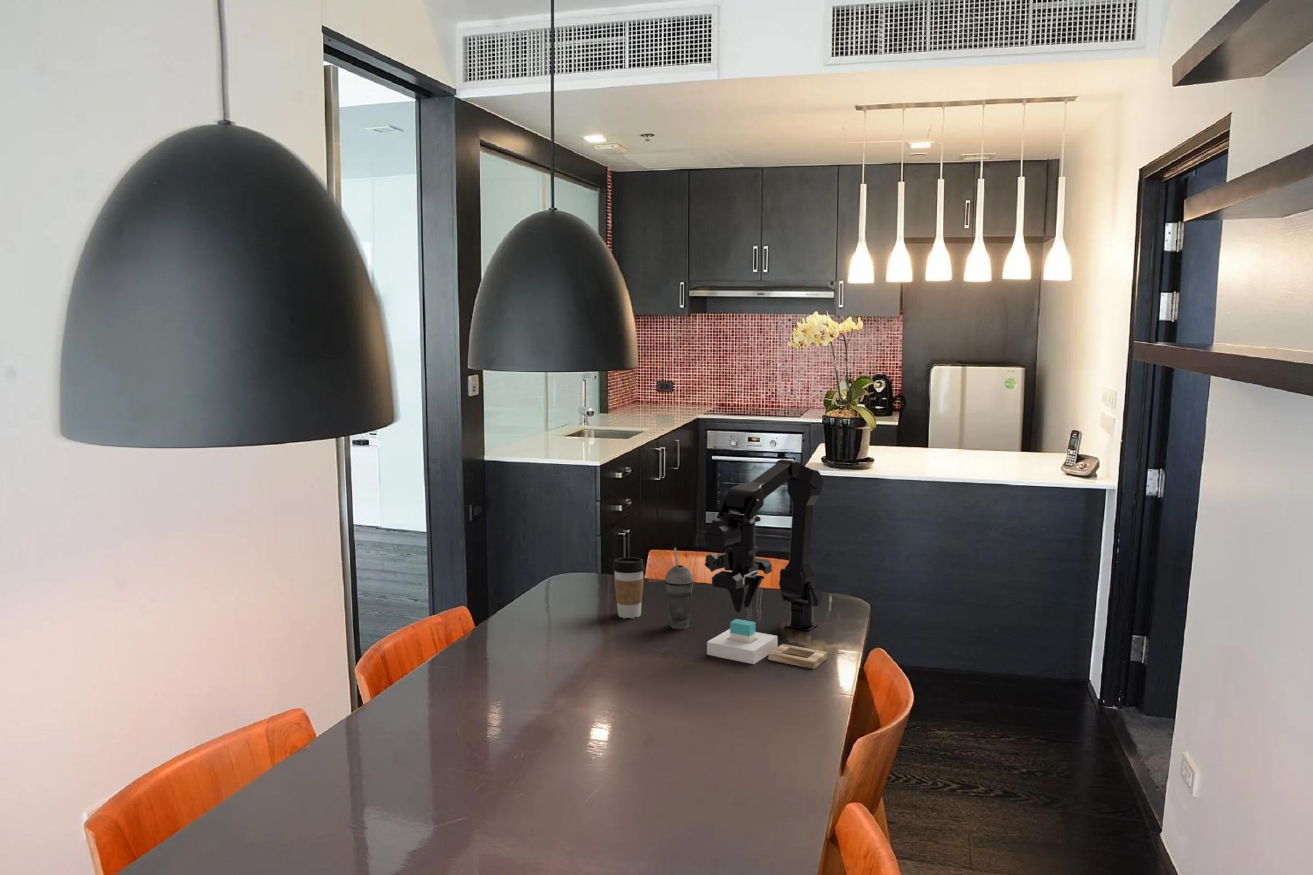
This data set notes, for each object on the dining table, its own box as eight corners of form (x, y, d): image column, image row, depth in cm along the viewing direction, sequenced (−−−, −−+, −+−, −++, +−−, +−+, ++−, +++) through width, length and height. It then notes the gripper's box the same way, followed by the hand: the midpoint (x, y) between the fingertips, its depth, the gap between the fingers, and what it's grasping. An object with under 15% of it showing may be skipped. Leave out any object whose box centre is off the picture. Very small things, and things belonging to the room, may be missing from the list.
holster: (782, 649, 217) (782, 643, 217) (827, 658, 212) (827, 652, 211) (768, 659, 211) (768, 653, 211) (813, 668, 205) (813, 662, 205)
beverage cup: (682, 632, 230) (682, 553, 228) (659, 627, 235) (658, 549, 232) (699, 625, 236) (699, 547, 234) (676, 619, 240) (675, 543, 238)
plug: (736, 647, 219) (736, 618, 219) (755, 651, 217) (755, 622, 216) (730, 651, 217) (730, 622, 216) (749, 655, 214) (749, 625, 213)
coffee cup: (608, 618, 242) (607, 561, 240) (619, 609, 250) (618, 554, 248) (639, 621, 240) (639, 564, 238) (649, 611, 248) (648, 556, 246)
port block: (732, 639, 225) (732, 627, 225) (777, 648, 219) (777, 635, 218) (707, 654, 215) (707, 641, 215) (753, 664, 209) (753, 651, 208)
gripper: (731, 531, 226) (731, 594, 228) (691, 547, 210) (691, 614, 212) (772, 536, 220) (772, 601, 222) (735, 553, 204) (735, 622, 206)
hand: (742, 609), depth 216 cm, fingers open, 4 cm apart
